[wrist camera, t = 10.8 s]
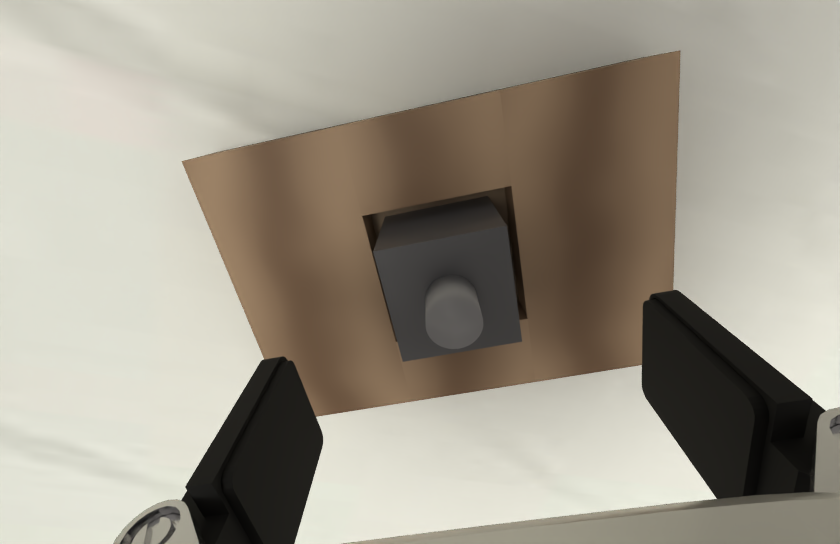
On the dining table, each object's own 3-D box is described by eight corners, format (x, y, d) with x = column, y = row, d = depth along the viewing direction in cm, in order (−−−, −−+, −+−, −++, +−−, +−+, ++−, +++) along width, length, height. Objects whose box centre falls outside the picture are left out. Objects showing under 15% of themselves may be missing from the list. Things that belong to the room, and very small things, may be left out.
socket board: (641, 57, 18) (680, 50, 15) (641, 329, 23) (670, 360, 21) (215, 152, 20) (181, 161, 17) (304, 385, 25) (290, 420, 22)
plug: (487, 195, 20) (518, 243, 13) (501, 289, 21) (534, 371, 15) (385, 216, 20) (366, 272, 14) (407, 306, 22) (399, 393, 15)
